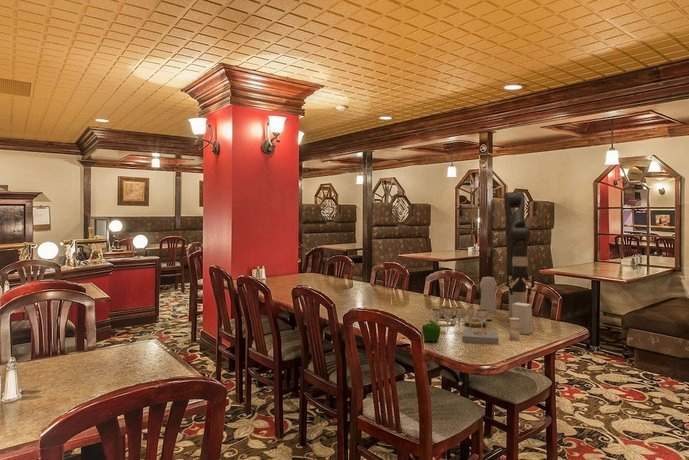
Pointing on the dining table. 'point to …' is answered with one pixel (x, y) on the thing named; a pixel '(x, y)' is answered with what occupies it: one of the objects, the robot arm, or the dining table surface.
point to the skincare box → (523, 317)
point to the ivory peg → (514, 329)
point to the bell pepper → (431, 332)
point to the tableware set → (474, 322)
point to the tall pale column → (488, 294)
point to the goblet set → (460, 315)
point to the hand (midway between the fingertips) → (520, 295)
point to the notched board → (480, 337)
